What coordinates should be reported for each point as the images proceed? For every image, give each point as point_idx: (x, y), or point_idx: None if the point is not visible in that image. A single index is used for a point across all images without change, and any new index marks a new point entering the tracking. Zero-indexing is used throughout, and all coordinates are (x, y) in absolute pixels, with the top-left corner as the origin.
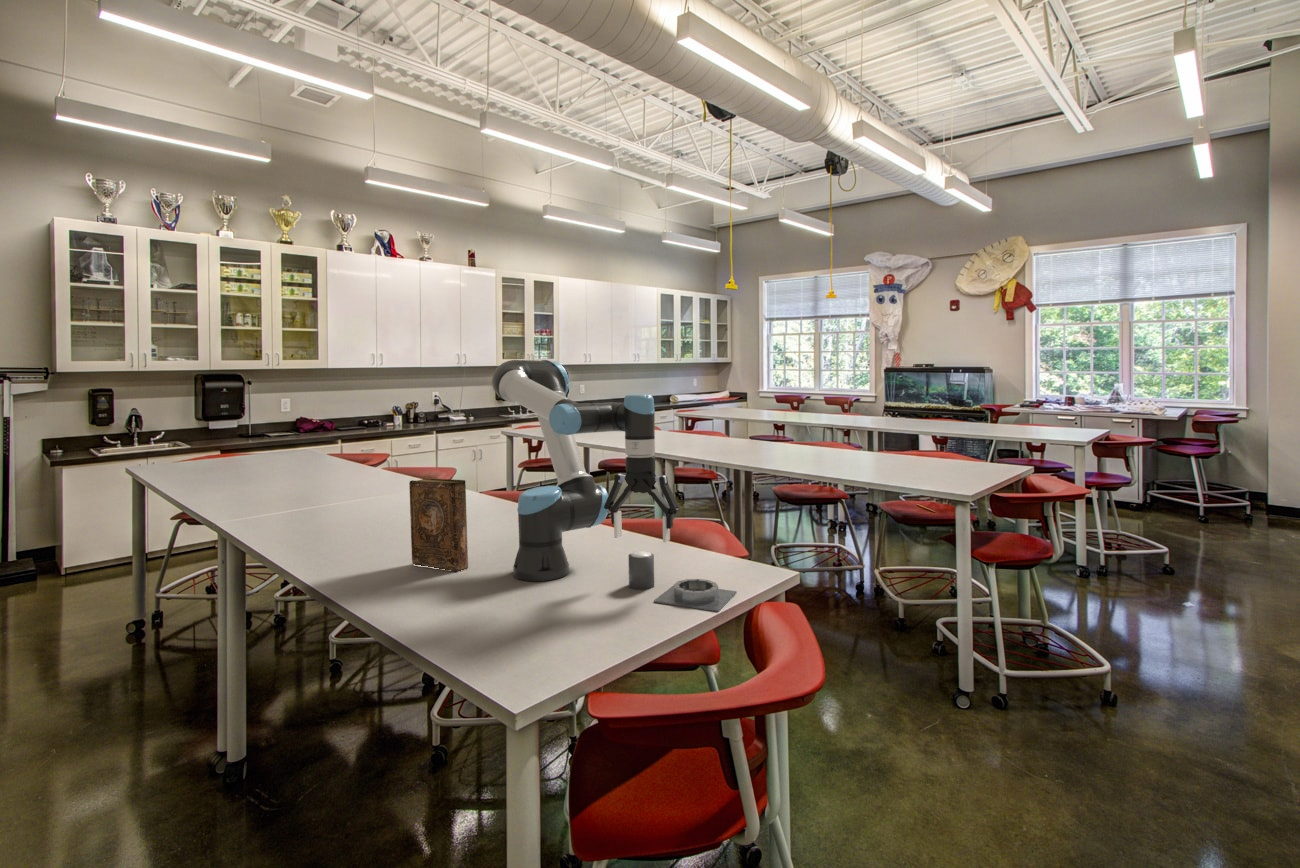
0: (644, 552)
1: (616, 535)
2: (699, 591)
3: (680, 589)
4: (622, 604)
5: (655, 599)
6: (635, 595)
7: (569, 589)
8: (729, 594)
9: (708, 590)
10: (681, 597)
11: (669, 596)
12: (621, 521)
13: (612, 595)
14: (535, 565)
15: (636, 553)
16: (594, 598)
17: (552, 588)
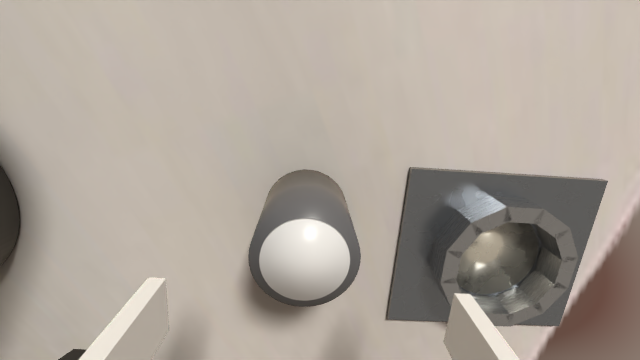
0: (308, 232)
1: (159, 339)
2: (525, 312)
3: None
4: (315, 348)
5: (390, 313)
6: None
7: (120, 301)
8: (586, 215)
9: (550, 298)
10: None
11: (420, 282)
12: (116, 345)
13: (261, 304)
14: None
15: (280, 258)
16: (227, 336)
17: (69, 308)
